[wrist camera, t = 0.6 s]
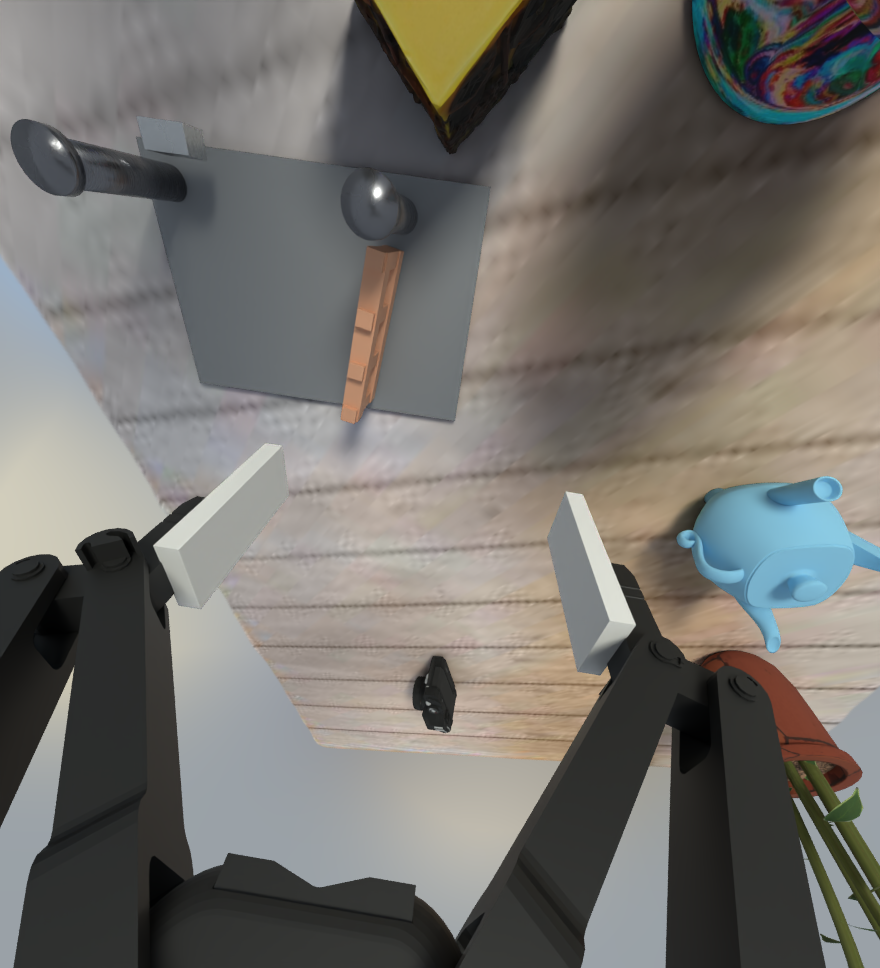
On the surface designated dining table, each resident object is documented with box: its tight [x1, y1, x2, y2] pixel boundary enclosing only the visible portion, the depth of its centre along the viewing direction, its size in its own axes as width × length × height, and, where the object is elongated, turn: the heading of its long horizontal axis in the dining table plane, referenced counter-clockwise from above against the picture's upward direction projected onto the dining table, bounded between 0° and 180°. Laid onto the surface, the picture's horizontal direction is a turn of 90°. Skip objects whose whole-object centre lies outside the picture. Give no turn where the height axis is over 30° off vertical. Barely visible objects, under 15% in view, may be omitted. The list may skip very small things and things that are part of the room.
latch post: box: [11, 116, 208, 202], centre depth 24 cm, size 5×6×11 cm
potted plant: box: [701, 651, 880, 968], centre depth 41 cm, size 17×16×35 cm
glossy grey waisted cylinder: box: [341, 168, 418, 241], centre depth 24 cm, size 3×3×11 cm
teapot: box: [677, 476, 880, 653], centre depth 37 cm, size 15×14×11 cm
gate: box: [341, 245, 404, 424], centre depth 30 cm, size 13×2×6 cm, turn 163°
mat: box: [136, 137, 491, 421], centre depth 33 cm, size 19×27×1 cm
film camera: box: [413, 656, 457, 733], centre depth 63 cm, size 13×8×10 cm, turn 16°
